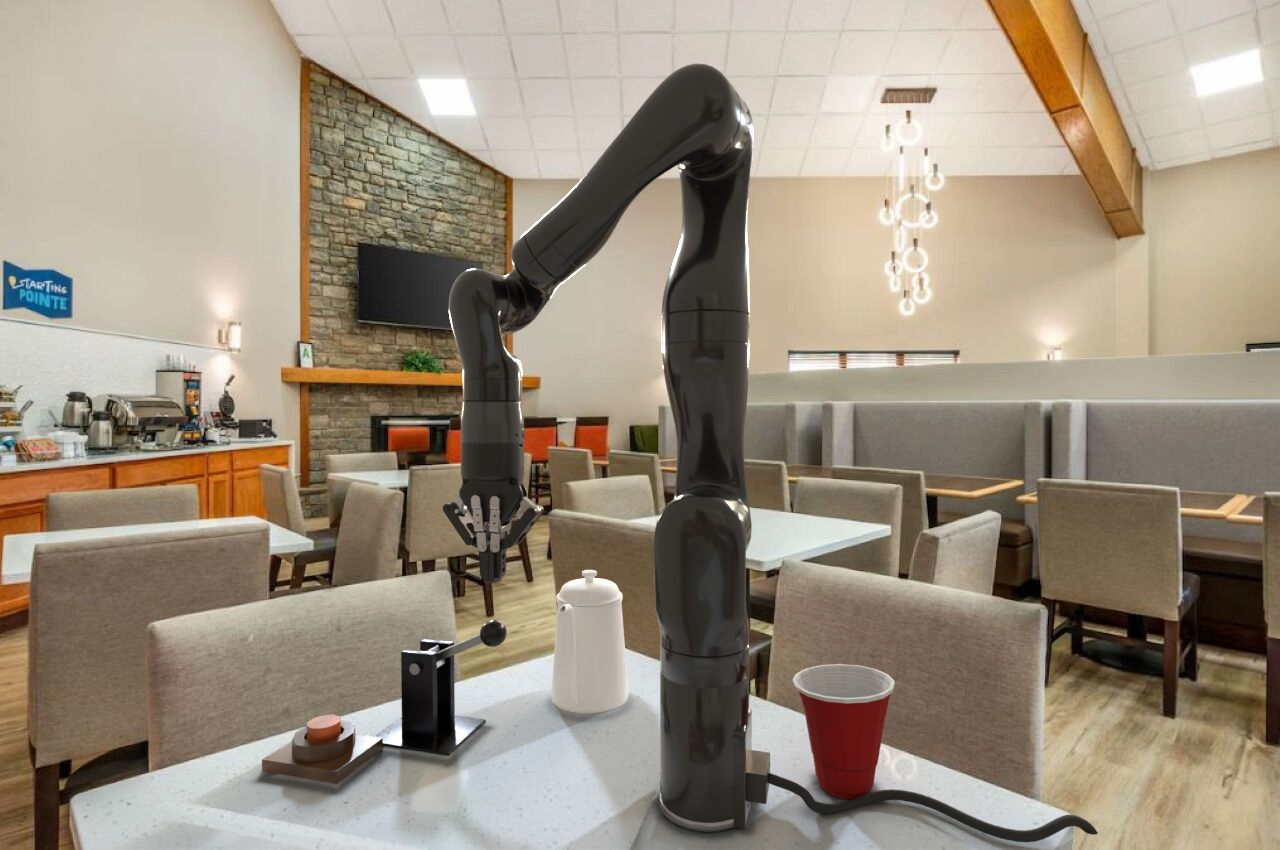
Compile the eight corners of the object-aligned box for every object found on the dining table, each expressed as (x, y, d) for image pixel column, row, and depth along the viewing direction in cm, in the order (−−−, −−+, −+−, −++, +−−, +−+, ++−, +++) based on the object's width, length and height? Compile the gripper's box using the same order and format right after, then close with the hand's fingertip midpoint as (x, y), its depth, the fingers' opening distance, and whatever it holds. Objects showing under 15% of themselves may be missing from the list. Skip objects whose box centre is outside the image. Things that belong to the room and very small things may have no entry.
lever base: (485, 728, 88) (485, 638, 87) (448, 763, 79) (447, 663, 79) (412, 718, 91) (411, 631, 90) (368, 750, 82) (367, 654, 82)
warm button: (347, 731, 79) (347, 716, 79) (325, 745, 76) (325, 730, 76) (322, 727, 80) (322, 712, 80) (299, 741, 77) (299, 726, 77)
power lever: (515, 637, 83) (504, 612, 83) (503, 645, 80) (492, 620, 80) (431, 671, 86) (422, 648, 87) (416, 681, 83) (407, 656, 84)
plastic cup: (813, 750, 82) (814, 652, 82) (906, 778, 76) (906, 672, 75) (776, 790, 73) (776, 681, 73) (877, 826, 67) (878, 706, 67)
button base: (383, 755, 81) (383, 722, 81) (336, 792, 73) (336, 755, 73) (313, 744, 84) (313, 713, 83) (261, 778, 76) (261, 743, 76)
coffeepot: (519, 742, 84) (518, 592, 83) (577, 667, 108) (577, 551, 108) (604, 751, 82) (603, 597, 81) (644, 672, 106) (643, 554, 106)
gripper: (427, 439, 80) (427, 585, 80) (529, 441, 76) (529, 593, 77) (460, 437, 87) (460, 570, 87) (555, 438, 83) (555, 577, 84)
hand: (493, 580), depth 82 cm, fingers closed
